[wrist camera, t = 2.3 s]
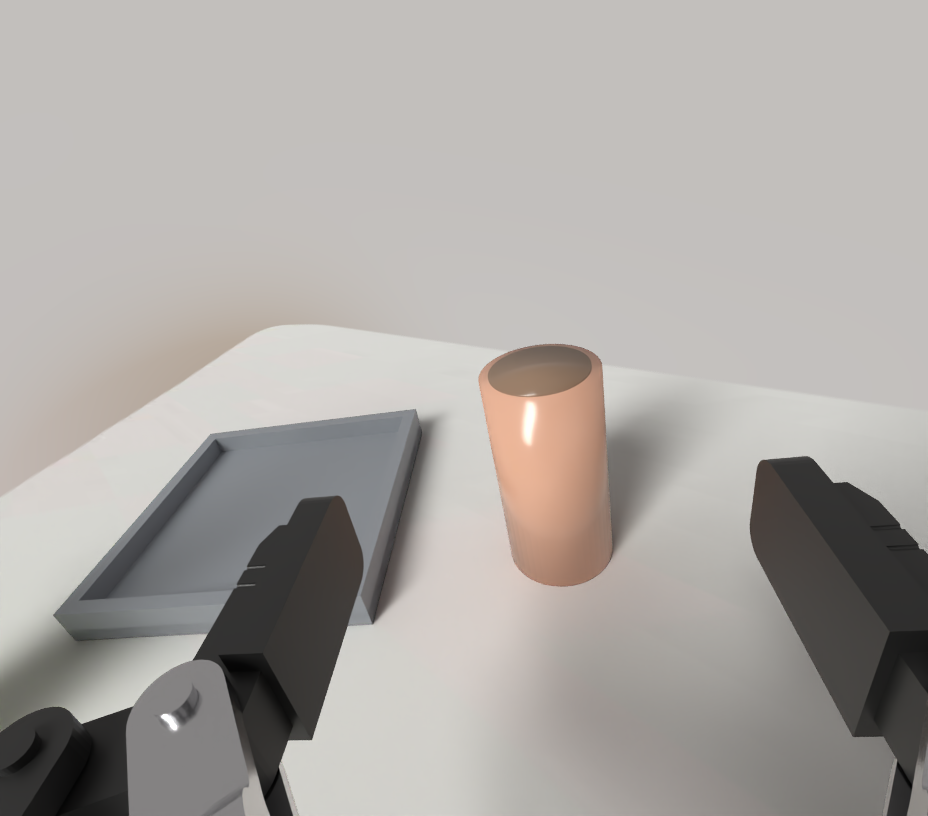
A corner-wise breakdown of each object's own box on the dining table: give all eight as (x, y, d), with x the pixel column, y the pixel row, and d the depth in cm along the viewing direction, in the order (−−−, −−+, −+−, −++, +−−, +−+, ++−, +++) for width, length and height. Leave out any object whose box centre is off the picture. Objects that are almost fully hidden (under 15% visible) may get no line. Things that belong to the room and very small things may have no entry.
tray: (422, 432, 38) (415, 409, 37) (372, 624, 24) (360, 595, 23) (221, 455, 41) (210, 433, 40) (75, 640, 27) (52, 615, 26)
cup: (604, 508, 28) (593, 335, 23) (620, 582, 24) (611, 391, 19) (511, 515, 29) (481, 350, 24) (511, 589, 25) (474, 407, 20)
